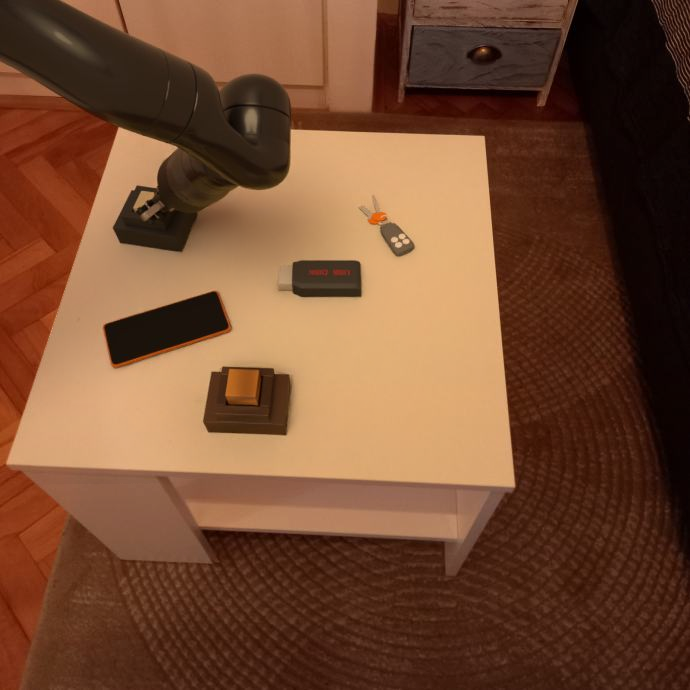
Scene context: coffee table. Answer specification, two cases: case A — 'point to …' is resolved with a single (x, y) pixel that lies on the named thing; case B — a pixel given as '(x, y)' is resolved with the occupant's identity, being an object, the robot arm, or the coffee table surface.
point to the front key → (243, 387)
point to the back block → (153, 226)
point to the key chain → (390, 231)
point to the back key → (143, 199)
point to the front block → (249, 418)
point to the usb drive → (321, 278)
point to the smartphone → (165, 328)
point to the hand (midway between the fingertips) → (157, 204)
